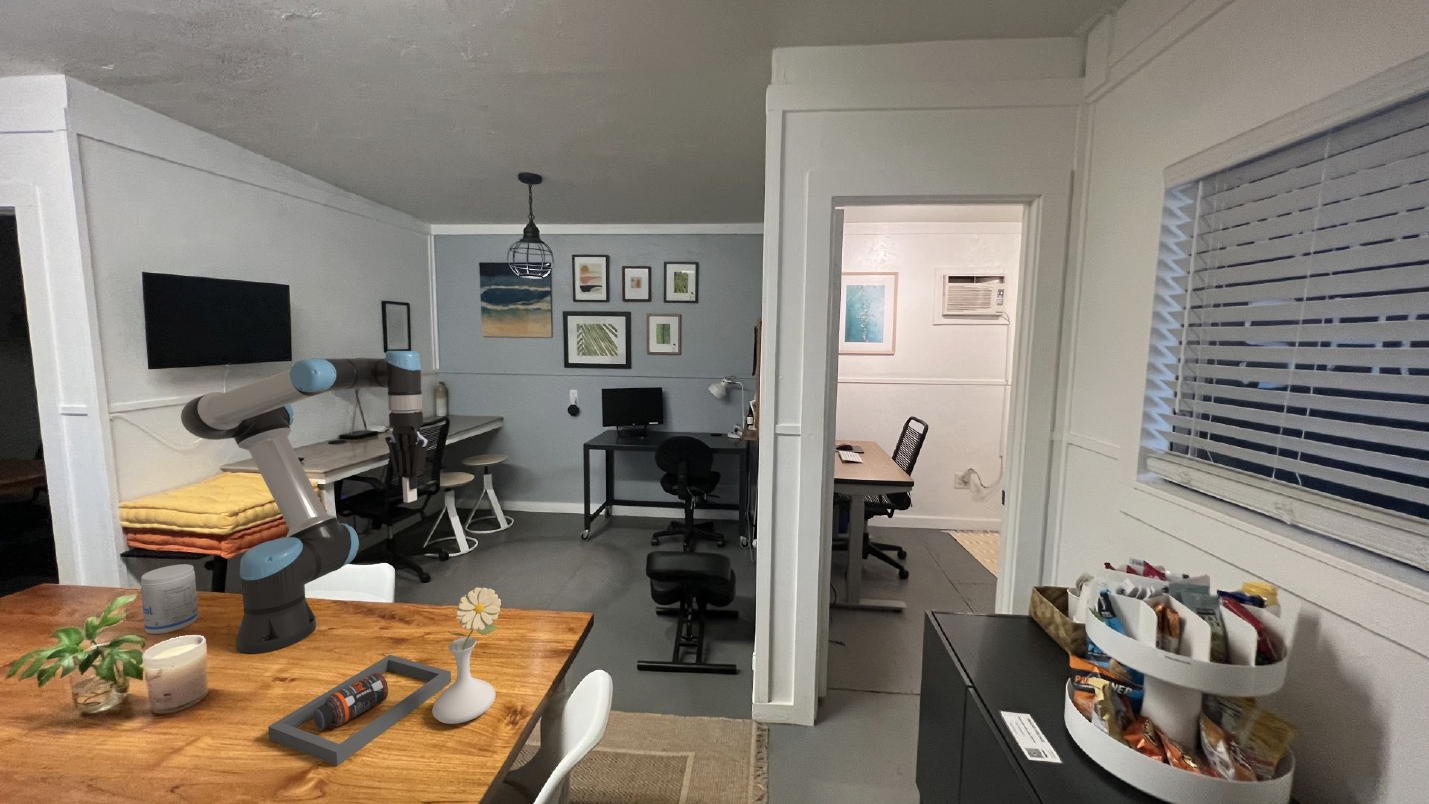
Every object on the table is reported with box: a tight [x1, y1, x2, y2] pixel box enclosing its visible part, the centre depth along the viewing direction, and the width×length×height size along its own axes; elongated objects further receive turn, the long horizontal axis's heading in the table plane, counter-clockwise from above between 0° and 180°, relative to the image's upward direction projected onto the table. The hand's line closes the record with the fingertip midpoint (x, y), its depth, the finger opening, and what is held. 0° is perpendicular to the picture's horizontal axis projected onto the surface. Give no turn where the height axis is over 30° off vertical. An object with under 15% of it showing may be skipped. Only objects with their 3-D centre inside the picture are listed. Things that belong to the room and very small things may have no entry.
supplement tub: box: [140, 563, 199, 635], centre depth 132 cm, size 10×10×15 cm
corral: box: [268, 654, 452, 767], centre depth 102 cm, size 18×24×2 cm
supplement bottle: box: [312, 673, 389, 731], centre depth 100 cm, size 6×6×11 cm
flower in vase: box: [431, 587, 502, 725], centre depth 101 cm, size 13×11×25 cm
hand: (410, 500), depth 134 cm, fingers closed
